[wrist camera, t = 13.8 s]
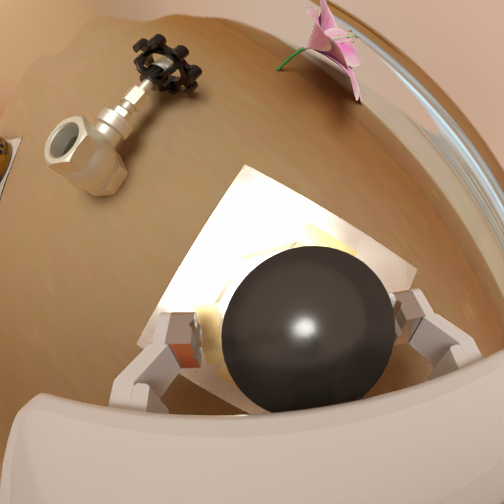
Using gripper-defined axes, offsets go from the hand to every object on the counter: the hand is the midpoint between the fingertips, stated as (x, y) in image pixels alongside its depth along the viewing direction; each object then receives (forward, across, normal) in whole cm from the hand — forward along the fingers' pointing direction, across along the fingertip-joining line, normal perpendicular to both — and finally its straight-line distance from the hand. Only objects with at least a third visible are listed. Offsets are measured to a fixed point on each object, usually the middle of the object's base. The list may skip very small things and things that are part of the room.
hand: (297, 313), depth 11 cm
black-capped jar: (+4, 0, +4) cm, 6 cm away
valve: (+15, +10, -5) cm, 19 cm away
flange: (+5, 0, +5) cm, 7 cm away
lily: (+18, -6, -8) cm, 21 cm away
